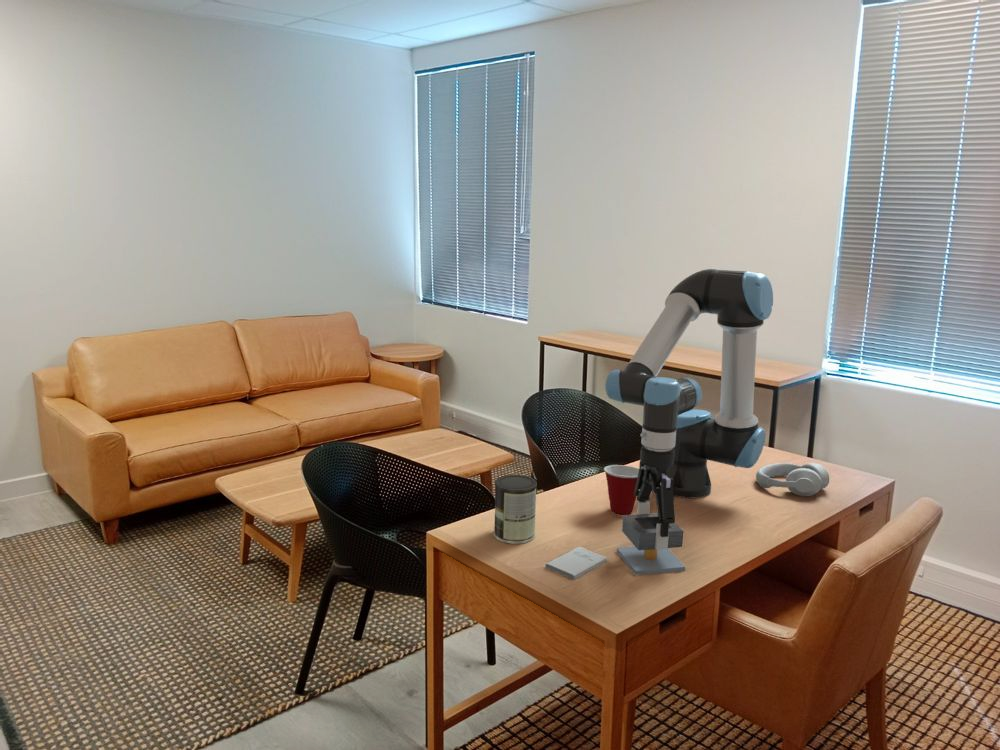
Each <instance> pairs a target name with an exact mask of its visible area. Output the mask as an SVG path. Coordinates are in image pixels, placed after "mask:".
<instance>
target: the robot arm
mask: <svg viewBox="0 0 1000 750" xmlns="http://www.w3.org/2000/svg"><path fill="white" fill-rule="evenodd" d="M772 286H773V285H772V283H771V281H770V280H769V278H768V276H767V275H765V274H764V273H759V272H752V271H746V270H745V271H744V270H728V269H714V268H708V269H703V270H700V271H697V272H695V273H692V274H690V275H689V276H687V277H686V278H684V279H683V280H682V281H680V282H679V283H678V284H677V285H676V286H674V288H673V289H672V290H671V291H670V292H669V294H668V295H667V297H666V298H665V300H664V301H665V302H664V306H665V307H664V308H663V310H662V311H661V313H660V315H659V316H658V318H657V319H656V321H655V322H654V324H653V325H652V327H651V328H650V330H649V331H648V333H646V334H647V335H646V336H645V337H644V339H643V340H642V342H641V344H640V346H639V347H638V349H637V350H636V351H635V353H634V355H633V356H632V357H631V359H630V360H629V362H628V364H627V365H626V366H625V368H624V370H622V369H613V370H611V371H610V372H609V373H608V375H607V377H606V380H605V384H604V387H605V388H604V389H605V392H606V396H607V397H608V398H609V399H610V400H613V401H617V402H620V403H622V404H624V403H626V404H631V405H636V406H643V413H642V428H641V429H642V430H641V432H640V437H641V442H640V443H641V445H642V446H641V447H640V454H639V455H640V456H639V473H638V477H637V482H636V486H635V491H634V495H635V496H637V498H636V501H637V509H636V510H637V512H636V513H637V514H650V508H651V507H650V505H651V502H650V501H651V500H652V499H651V497H650V496H651V494H652V493H654V497H655V503H656V509H657V513H658V517H659V520H658V521H656V523H657V526H656V540H655V549H656V550H658V549H669V548H668V536H669V523H676V516H675V515H676V514H675V513H676V512H675V497H677V498H686V499H690V498H691V499H693V498H694V499H696V498H702V497H706V496H708V495H710V494H711V491H712V481H711V478H710V473H709V469H708V465H707V463H708V461H712V462H714V463H715V462H716V463H720V464H723V465H727V466H732V467H735V468H743V469H750V468H752V467H754V466H755V465H756V464H757V462H758V461H759V458H760V457H761V455H762V453H763V449H764V445H765V441H766V436H767V435H766V434H767V433H766V430H765V428H762V427H759V418H758V417H757V416H756V415H755V414H754V413H753V412H754V396H755V381H756V380H755V375H756V361H757V360H756V358H757V357H756V356H757V337H758V336H757V335H758V329H760V328H761V327H763V325H764V322H765V321H764V320H767V319H769V318H770V316H771V314H772V311H773V306H774V305H773V304H774V292H773V287H772ZM702 314H712V315H716V317H717V325H718V326H720V328H722V345H721V346H722V347H721V350H722V351H721V373H720V374H721V377H720V402H719V403H720V404H719V405H720V406H719V412H718V413H716V414H715V415H714V418H712V414H711V412H710V411H708V410H704V409H694V408H696V407H697V406H699V404H700V403H701V402H702V398H703V390H702V386H701V385H700V384H699V382H698V381H696V380H695V379H693V378H691V377H681V378H678V379H675V378H671V377H664V376H663V377H662V376H658V375H659V373H660V371H661V369H662V368H663V367H664V365H665V363H666V362H667V360H668V358H669V357H670V355H671V353H672V352H673V350H675V347H676V346H677V344H678V343H679V341H680V339H681V338H682V336H683V334H684V333H685V331H686V330H687V328H688V326H689V325H690V323H691V322H694V321H696V320H698V318H699V316H700V315H702Z"/></svg>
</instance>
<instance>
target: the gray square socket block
mask: <svg viewBox="0 0 1000 750" xmlns="http://www.w3.org/2000/svg"><path fill="white" fill-rule="evenodd" d="M658 520H659V517H658V512H654V513H649V514H636V513H635V514H630V515H623V516H622V522H621V523H622V524H621V531H622V533H623V534H624V535H625V536H626V538H627V539H628V540H629V541H630V542H631V543H632V545H633V546H635V547H636V548H637V549H638V550H652V549H655V540H656V526H657V523H656V521H658ZM684 531H685V530H684V529H682V527H680V526H679V524H677V523H676V522H675V523H669V536H668V549H675V548H683V543H684V533H685V532H684Z"/></svg>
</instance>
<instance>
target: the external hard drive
mask: <svg viewBox="0 0 1000 750" xmlns="http://www.w3.org/2000/svg"><path fill="white" fill-rule="evenodd" d="M607 560H608V558H607V557H606V556H604V555H601V554H599V553H596V552H594V551H591V550H589V549H588V548H587V549H586V548H584V547H582V546H578V547H576V548H574V549H572V550H570V551H568V552H565V553H564V554H562V555H560V556H558V557H556V558H555V559H553V560H550V561H549V562H546V563H545V568H546V569H548V570H550V571H553V572H555V573H557V574H560V575H562V576H565V577H567V578H568V579H569V578H570V579H572V580H574V581H575V580H576V579H578V578H580V577H582V576H583V575H586V574H587V573H588V572H590V571H592V570H594V569H596V568H598V567H599V566H601V565H603V564H604V563H607Z"/></svg>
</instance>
